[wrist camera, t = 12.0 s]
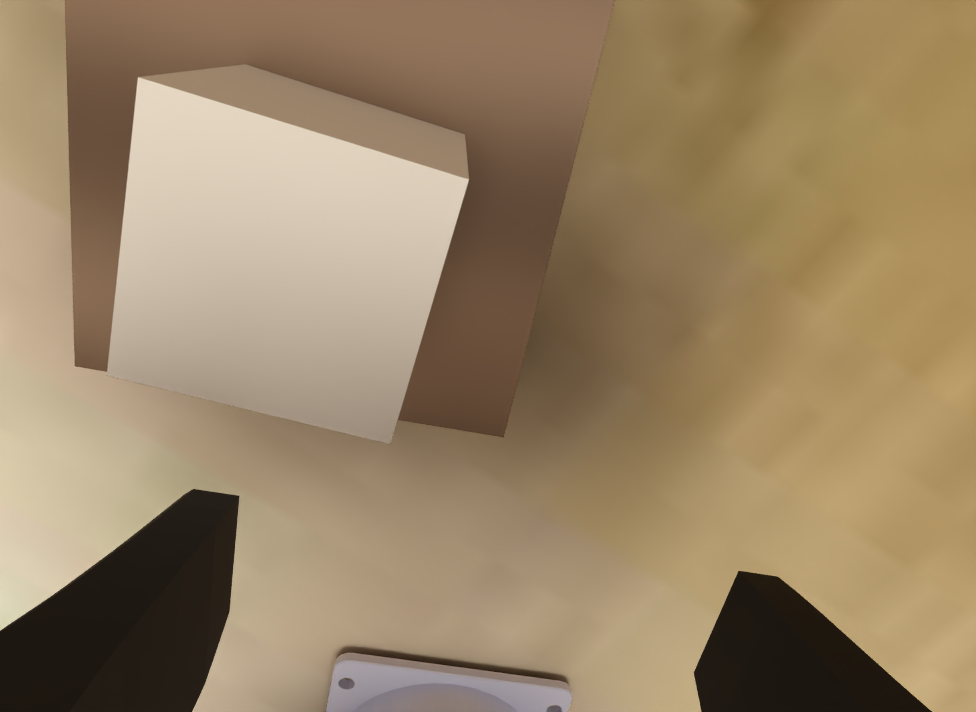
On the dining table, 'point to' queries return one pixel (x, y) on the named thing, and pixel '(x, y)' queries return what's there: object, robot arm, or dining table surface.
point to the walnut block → (384, 83)
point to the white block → (281, 246)
